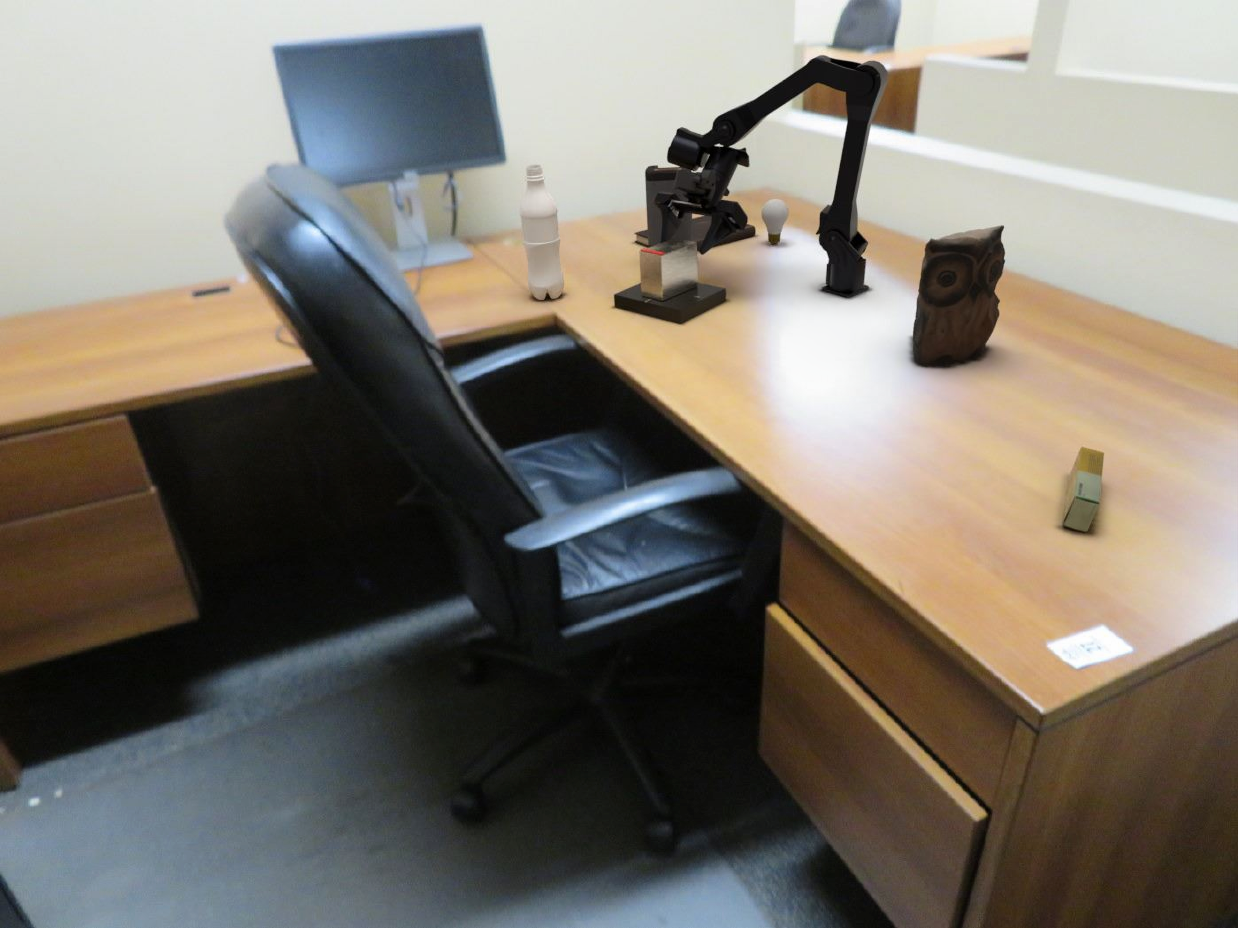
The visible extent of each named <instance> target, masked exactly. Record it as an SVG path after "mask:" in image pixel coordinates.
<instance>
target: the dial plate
mask: <svg viewBox="0 0 1238 928" xmlns="http://www.w3.org/2000/svg"><path fill="white" fill-rule="evenodd" d="M726 301H727V288H726V287H723V286H717V285H713V284H709V283H703V282H698V286H697V287H695V288H692V289H690V290H688V291H685V292H683V293H681V294H678V295H676V296H674V297H671V298H669V299H667V300H664V301H660V300H656V299H653V298H649V297H645V296H642V295H641V282H638V283H637V284H634V285H633V286H630V287H628V288H626V289H623V290H621V291H618V292H616V293H614V294H613V302H614V308H617V309H621V310H626V311H629V312H633V313H637V314H642V315H645V316H649V317H653V318H658V319H661V320H665V321H669V322H672V323H676V324H680V325H681V324H682V323H683V324H684V323H685V322H687V321H689V320H690V319H693V318H695V317H697V316H698V315H700V314H702V313H705V312H707V311H708V310H711V309H712V308H715V307H716V306H718V305H720V304H722V303H724V302H726Z"/></svg>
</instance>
